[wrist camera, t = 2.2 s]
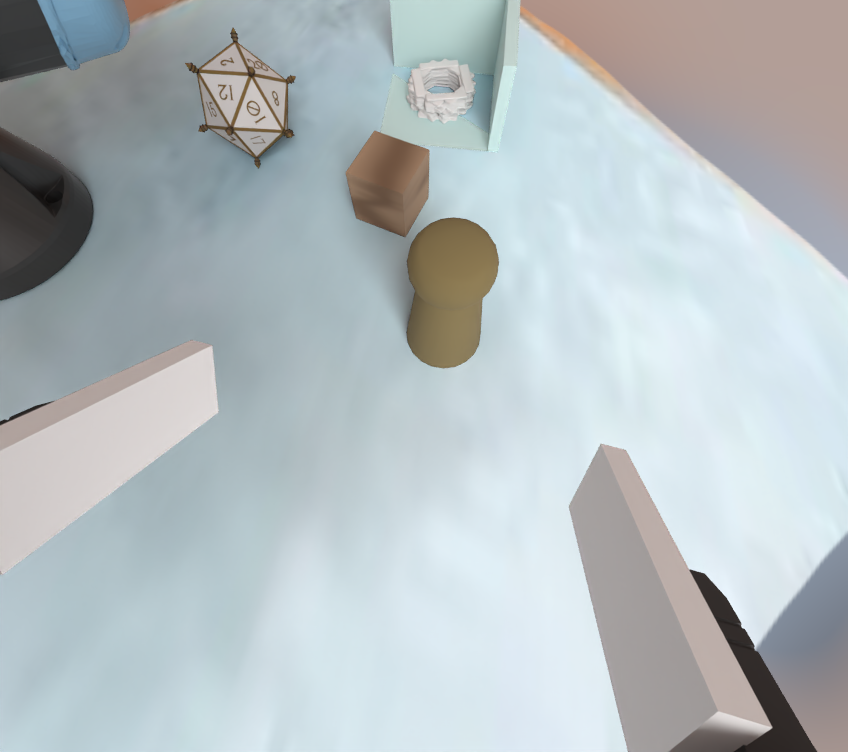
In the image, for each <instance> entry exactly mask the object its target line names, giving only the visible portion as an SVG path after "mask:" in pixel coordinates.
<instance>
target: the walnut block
mask: <svg viewBox="0 0 848 752" xmlns="http://www.w3.org/2000/svg"><path fill="white" fill-rule="evenodd" d="M346 177H347V181H348V185H349V189H350V194H351V198H352V202H353V206H354V211H355V215H356V218H357V219H359V220H362V221H365V222H367V223H370V224H372V225H375V226H377V227H380V228H383V229H385V230H388V231H390V232H393V233H396V234H398V235H401V236H403V237H406V235H407V234H408V232H409V230H410V228H411V227H412V225H413V223H414V221H415V220H416V218H417V216H418V214H419V213H420V211H421V209H422V208H423V206H424V204H425V202H426V201H427V199H428V190H429V150H428V149H426V148H423V147H420V146H417V145H414V144H411V143H408V142H406V141H403V140H400V139H397V138H394V137H391V136H389V135H386V134H383V133H380V132H377V131H374V132H373V134H372V135H371V136H370V138H369V139H368V141H367V142H366V144H365V145H364V147H363V148H362V150H361V151H360V152H359V154H358V155H357V157H356V158H355V160H354V161H353V163H352V164H351V166H350V167H349V168H348V170H347V171H346Z"/></svg>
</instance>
